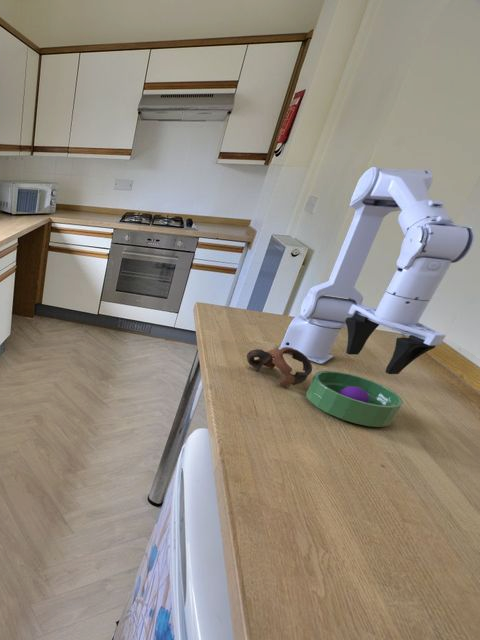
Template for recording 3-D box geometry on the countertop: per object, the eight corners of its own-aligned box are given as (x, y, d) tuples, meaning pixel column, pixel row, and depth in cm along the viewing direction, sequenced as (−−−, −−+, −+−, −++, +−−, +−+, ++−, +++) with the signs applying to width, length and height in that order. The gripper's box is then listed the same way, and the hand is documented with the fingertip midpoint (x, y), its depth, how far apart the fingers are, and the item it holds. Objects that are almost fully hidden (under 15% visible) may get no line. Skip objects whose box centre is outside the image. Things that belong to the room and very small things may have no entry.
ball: (327, 398, 83) (339, 381, 81) (347, 398, 84) (360, 381, 81) (346, 414, 80) (359, 396, 77) (367, 413, 80) (381, 396, 77)
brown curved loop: (282, 369, 97) (312, 351, 90) (288, 402, 92) (320, 385, 85) (234, 351, 98) (260, 331, 91) (236, 383, 92) (264, 365, 85)
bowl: (294, 402, 83) (304, 381, 81) (318, 385, 90) (328, 365, 88) (378, 438, 74) (392, 415, 71) (398, 415, 80) (411, 394, 78)
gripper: (477, 310, 66) (431, 382, 72) (385, 282, 79) (353, 345, 85) (439, 310, 65) (396, 383, 71) (353, 282, 78) (322, 346, 84)
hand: (370, 363), depth 78 cm, fingers open, 7 cm apart
